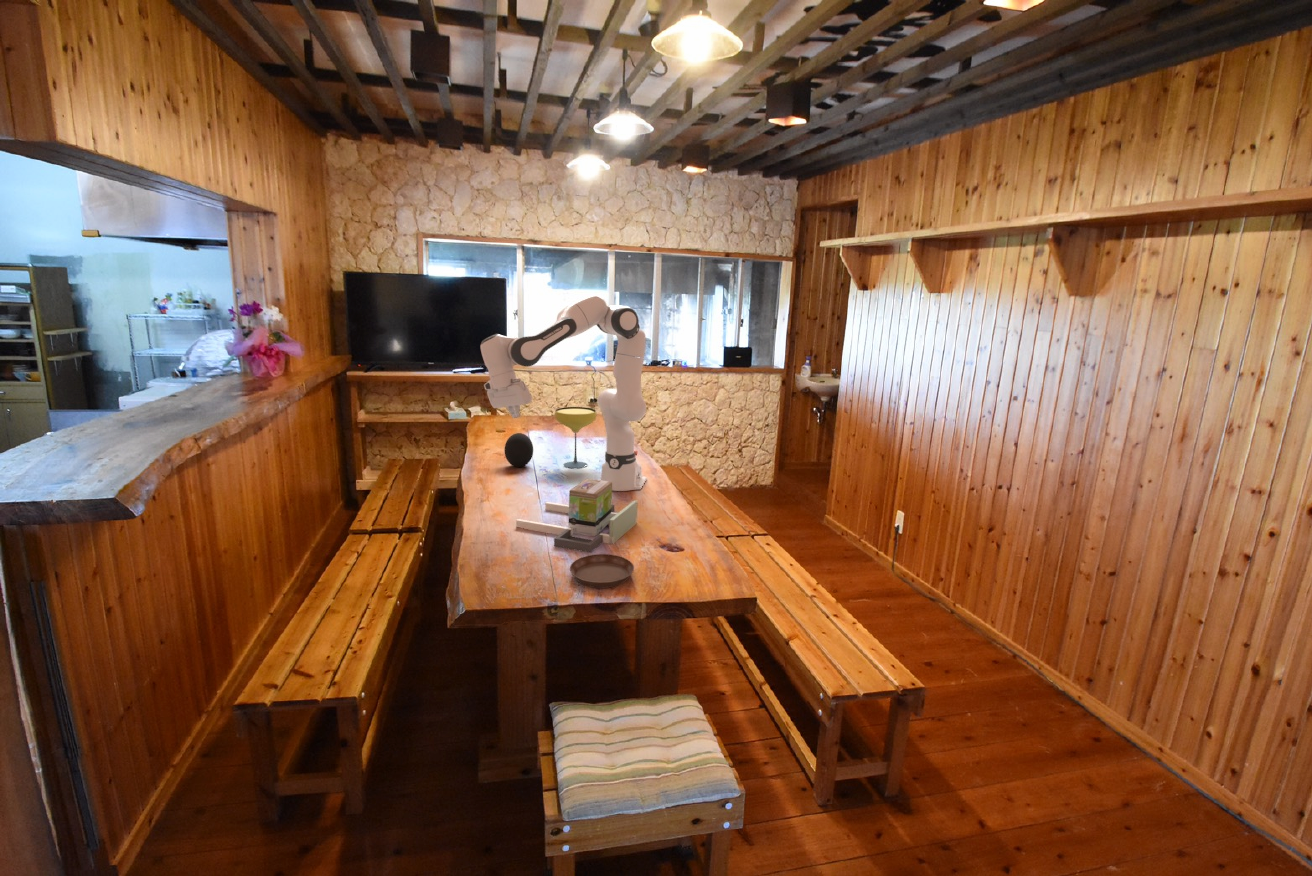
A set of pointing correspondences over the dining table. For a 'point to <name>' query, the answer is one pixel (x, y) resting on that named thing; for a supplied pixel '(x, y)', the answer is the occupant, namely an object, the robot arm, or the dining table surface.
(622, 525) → the channel
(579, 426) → the cocktail glass
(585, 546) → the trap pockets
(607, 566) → the plant saucer
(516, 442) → the decorative egg
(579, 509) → the tea box
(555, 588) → the dining table surface
